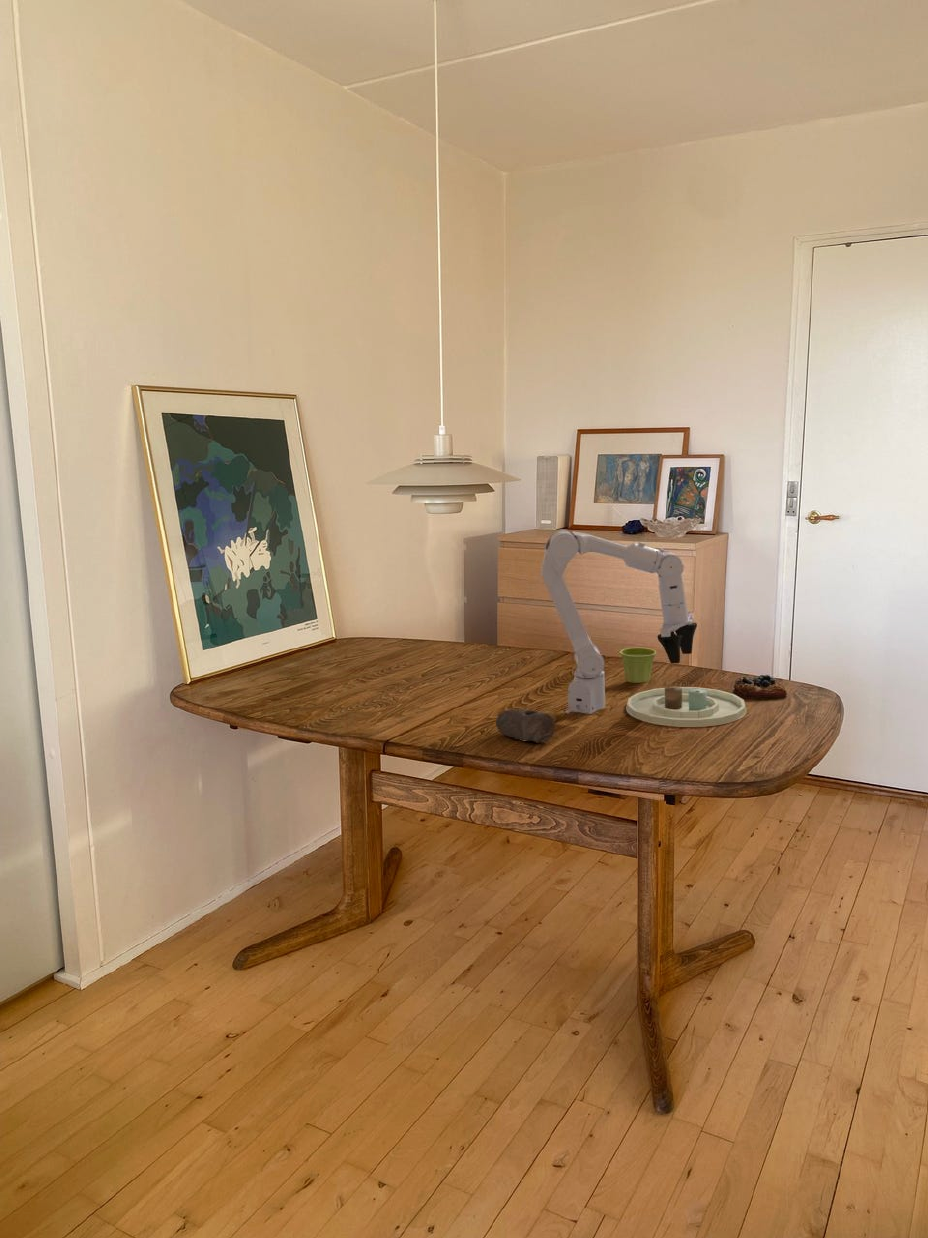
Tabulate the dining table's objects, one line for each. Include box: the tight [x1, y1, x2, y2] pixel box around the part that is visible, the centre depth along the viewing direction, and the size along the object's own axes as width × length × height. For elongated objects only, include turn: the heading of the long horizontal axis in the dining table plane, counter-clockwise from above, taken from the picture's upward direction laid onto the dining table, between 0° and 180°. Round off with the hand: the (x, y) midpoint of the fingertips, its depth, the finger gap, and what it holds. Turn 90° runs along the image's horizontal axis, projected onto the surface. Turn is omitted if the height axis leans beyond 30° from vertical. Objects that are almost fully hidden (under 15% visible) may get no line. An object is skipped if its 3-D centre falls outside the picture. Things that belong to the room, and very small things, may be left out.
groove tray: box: [625, 686, 747, 728], centre depth 221 cm, size 28×28×2 cm
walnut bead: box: [664, 685, 682, 709], centre depth 222 cm, size 4×4×5 cm
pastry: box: [733, 674, 788, 701], centre depth 230 cm, size 11×12×6 cm
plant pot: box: [619, 647, 657, 684], centre depth 247 cm, size 9×9×9 cm
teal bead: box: [689, 689, 707, 711], centre depth 219 cm, size 4×4×5 cm
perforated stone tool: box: [495, 709, 555, 744], centre depth 207 cm, size 15×5×7 cm, turn 47°
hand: (681, 658), depth 224 cm, fingers open, 7 cm apart
